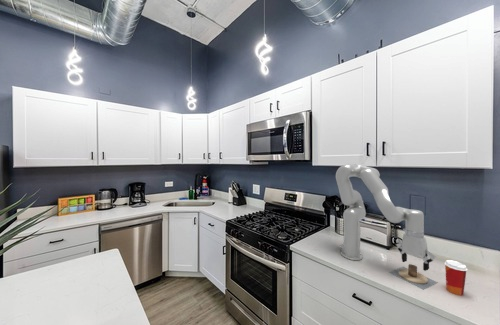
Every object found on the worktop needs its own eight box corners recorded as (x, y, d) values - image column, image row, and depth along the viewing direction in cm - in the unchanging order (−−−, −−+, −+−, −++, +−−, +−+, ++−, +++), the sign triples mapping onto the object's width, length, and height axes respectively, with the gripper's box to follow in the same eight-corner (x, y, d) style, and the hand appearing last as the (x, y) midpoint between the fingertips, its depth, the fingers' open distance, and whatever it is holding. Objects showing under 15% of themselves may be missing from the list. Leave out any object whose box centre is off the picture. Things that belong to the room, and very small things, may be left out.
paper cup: (453, 287, 99) (454, 259, 99) (471, 297, 91) (472, 268, 91) (438, 287, 99) (439, 259, 98) (455, 298, 91) (456, 268, 91)
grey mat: (388, 273, 111) (388, 272, 110) (403, 267, 116) (403, 266, 116) (423, 290, 96) (423, 289, 96) (438, 283, 102) (438, 282, 102)
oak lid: (393, 273, 109) (393, 262, 109) (406, 268, 114) (406, 258, 114) (419, 286, 98) (420, 274, 98) (432, 280, 103) (432, 269, 103)
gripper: (392, 229, 112) (393, 259, 112) (430, 240, 96) (431, 275, 96) (400, 227, 115) (400, 257, 115) (438, 237, 99) (439, 272, 99)
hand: (414, 265), depth 105 cm, fingers open, 9 cm apart
